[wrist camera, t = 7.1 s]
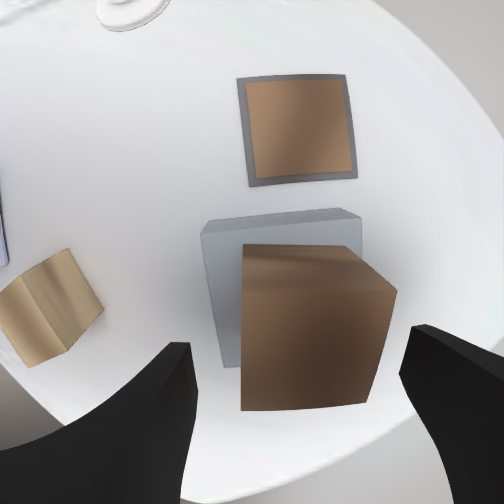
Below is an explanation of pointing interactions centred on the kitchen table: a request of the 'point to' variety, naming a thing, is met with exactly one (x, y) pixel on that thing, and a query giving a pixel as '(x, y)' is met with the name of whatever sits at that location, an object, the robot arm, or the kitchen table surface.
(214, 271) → the base block
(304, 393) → the walnut block
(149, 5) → the chess piece
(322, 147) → the walnut swatch
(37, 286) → the oak block
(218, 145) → the kitchen table surface
